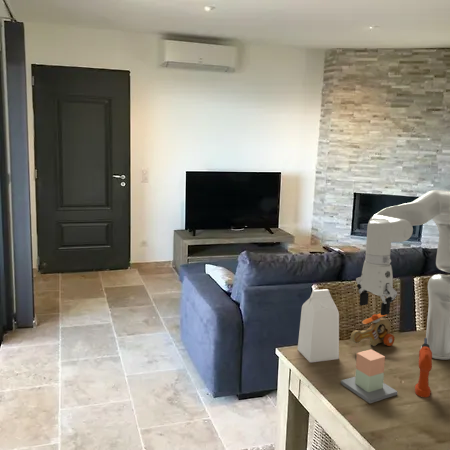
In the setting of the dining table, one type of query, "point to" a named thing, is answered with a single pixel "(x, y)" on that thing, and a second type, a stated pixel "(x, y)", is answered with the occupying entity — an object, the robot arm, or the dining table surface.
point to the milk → (319, 328)
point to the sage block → (369, 381)
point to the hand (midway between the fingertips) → (374, 309)
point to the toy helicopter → (375, 331)
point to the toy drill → (424, 370)
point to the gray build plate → (369, 396)
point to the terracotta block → (370, 362)
